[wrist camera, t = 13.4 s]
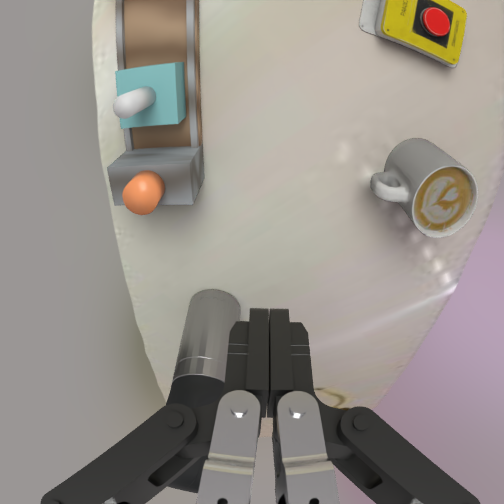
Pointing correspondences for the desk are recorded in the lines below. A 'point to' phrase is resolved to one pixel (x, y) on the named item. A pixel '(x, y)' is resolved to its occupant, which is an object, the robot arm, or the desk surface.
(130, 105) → the carriage
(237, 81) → the desk surface
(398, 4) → the emergency button
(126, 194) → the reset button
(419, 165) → the coffee mug
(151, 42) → the rail
